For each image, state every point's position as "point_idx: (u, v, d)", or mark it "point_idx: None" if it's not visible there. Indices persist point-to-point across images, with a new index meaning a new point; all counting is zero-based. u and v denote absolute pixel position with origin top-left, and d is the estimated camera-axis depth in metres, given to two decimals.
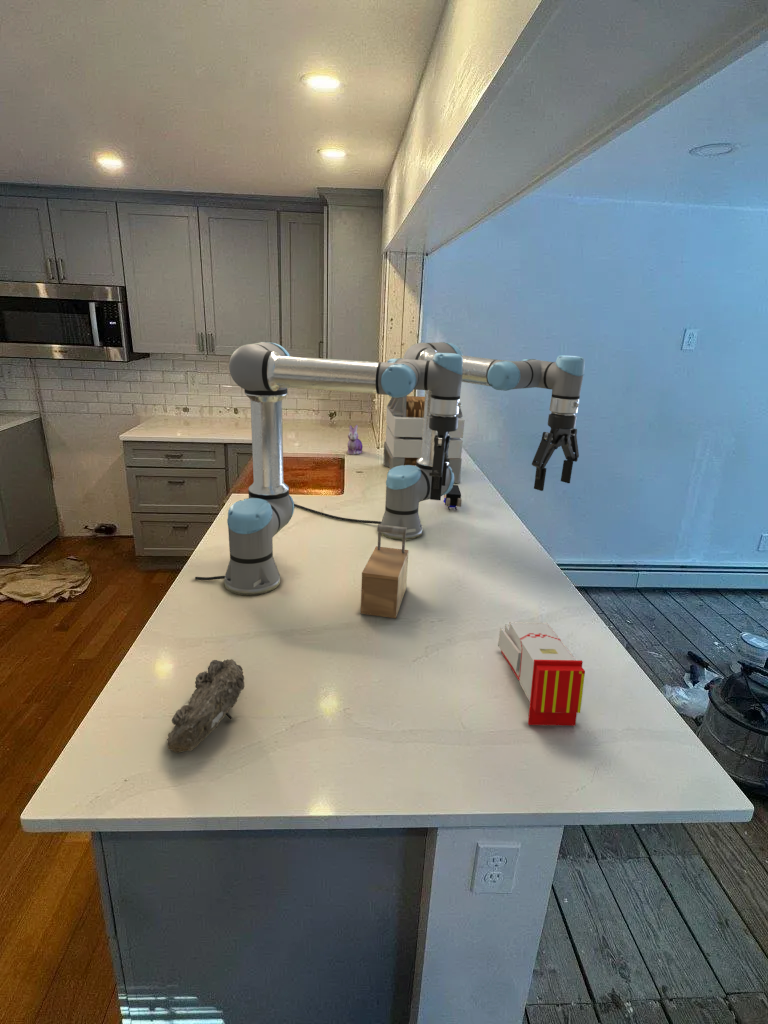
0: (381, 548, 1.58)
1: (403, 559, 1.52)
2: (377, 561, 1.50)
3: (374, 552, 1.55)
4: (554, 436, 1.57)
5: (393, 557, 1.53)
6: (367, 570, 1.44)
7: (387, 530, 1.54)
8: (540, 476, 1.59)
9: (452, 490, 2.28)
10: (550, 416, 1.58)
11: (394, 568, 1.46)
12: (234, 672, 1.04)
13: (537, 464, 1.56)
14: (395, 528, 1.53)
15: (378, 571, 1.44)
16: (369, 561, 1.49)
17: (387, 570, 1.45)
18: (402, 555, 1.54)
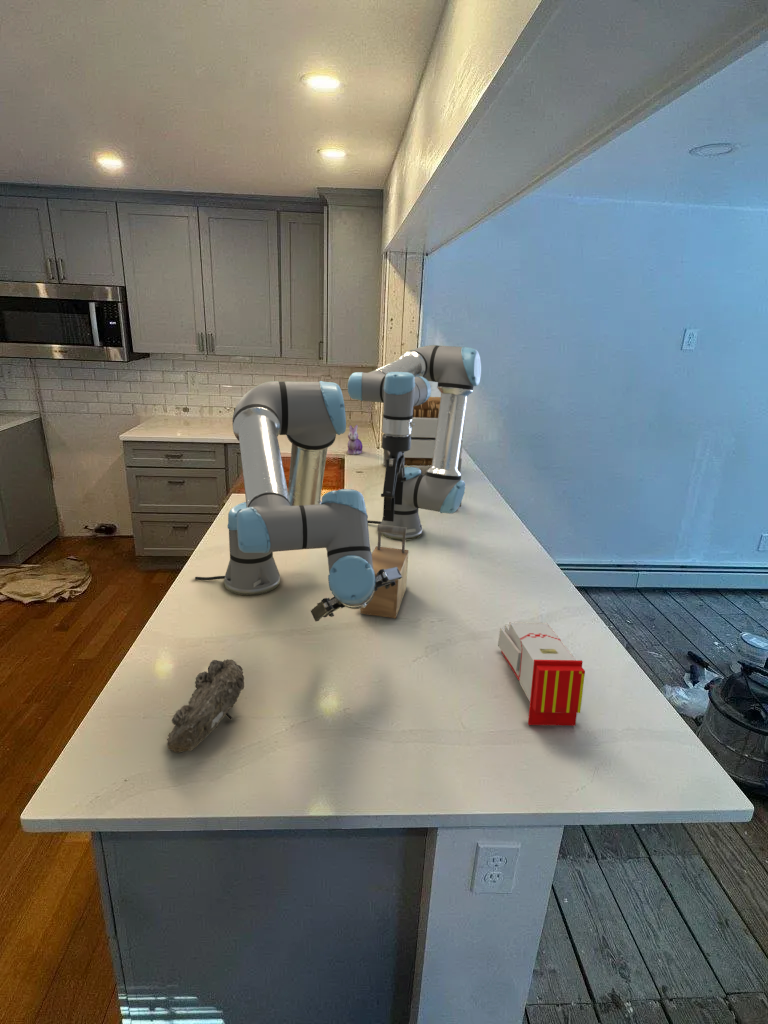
0: (381, 548, 1.58)
1: (403, 559, 1.52)
2: (377, 561, 1.50)
3: (374, 552, 1.55)
4: None
5: (393, 557, 1.53)
6: None
7: (387, 530, 1.54)
8: (391, 506, 1.44)
9: None
10: (387, 439, 1.43)
11: None
12: (234, 672, 1.04)
13: (390, 495, 1.41)
14: (395, 528, 1.53)
15: None
16: None
17: None
18: (402, 555, 1.54)
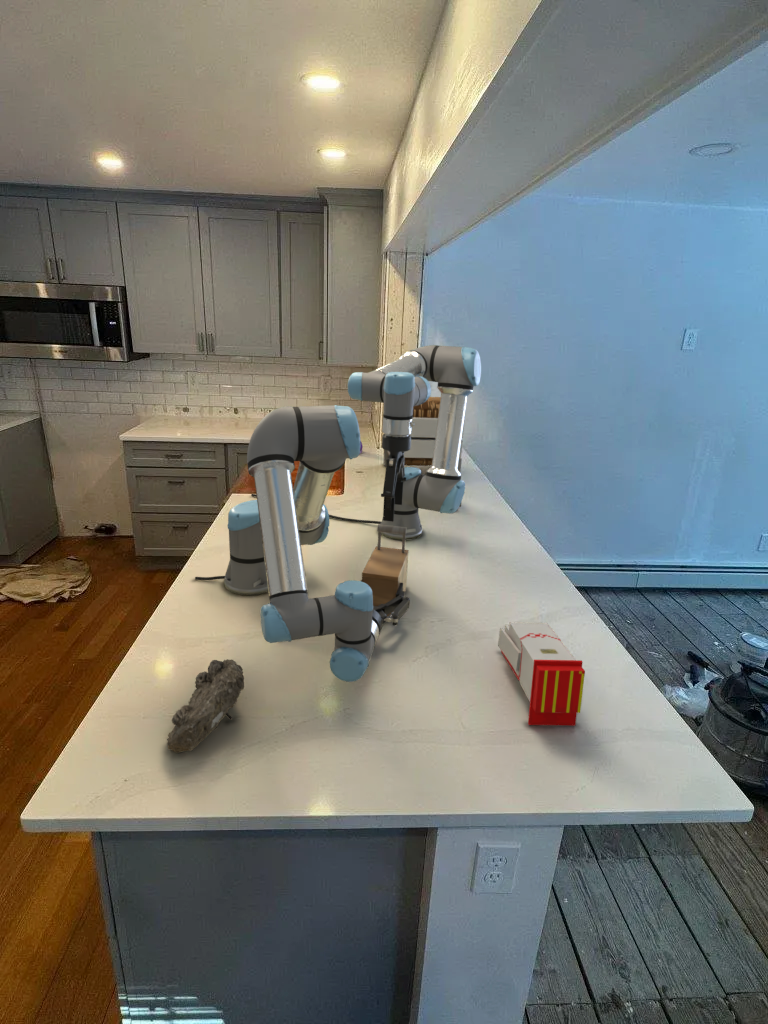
0: (381, 548, 1.58)
1: (403, 559, 1.52)
2: (377, 561, 1.50)
3: (374, 552, 1.55)
4: None
5: (393, 557, 1.53)
6: (367, 570, 1.44)
7: (387, 530, 1.54)
8: (391, 506, 1.44)
9: None
10: (387, 439, 1.43)
11: (394, 568, 1.46)
12: (234, 672, 1.04)
13: (390, 495, 1.41)
14: (395, 528, 1.53)
15: (378, 571, 1.44)
16: (369, 561, 1.49)
17: (387, 570, 1.45)
18: (402, 555, 1.54)
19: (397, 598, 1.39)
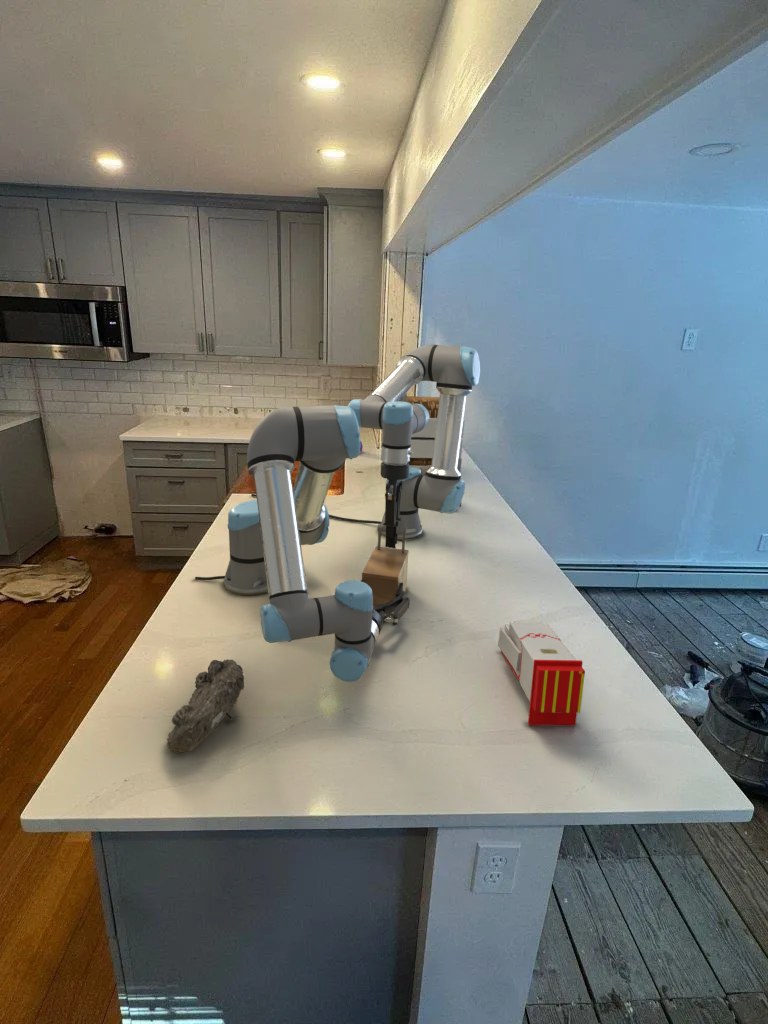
0: (381, 548, 1.57)
1: (403, 559, 1.51)
2: (377, 561, 1.50)
3: (374, 552, 1.55)
4: (394, 488, 1.46)
5: (393, 557, 1.53)
6: (367, 570, 1.44)
7: None
8: (392, 534, 1.52)
9: None
10: (386, 468, 1.46)
11: (394, 568, 1.46)
12: (234, 672, 1.04)
13: (392, 524, 1.49)
14: None
15: (378, 571, 1.44)
16: (369, 561, 1.49)
17: (387, 570, 1.45)
18: (402, 555, 1.54)
19: (397, 598, 1.39)
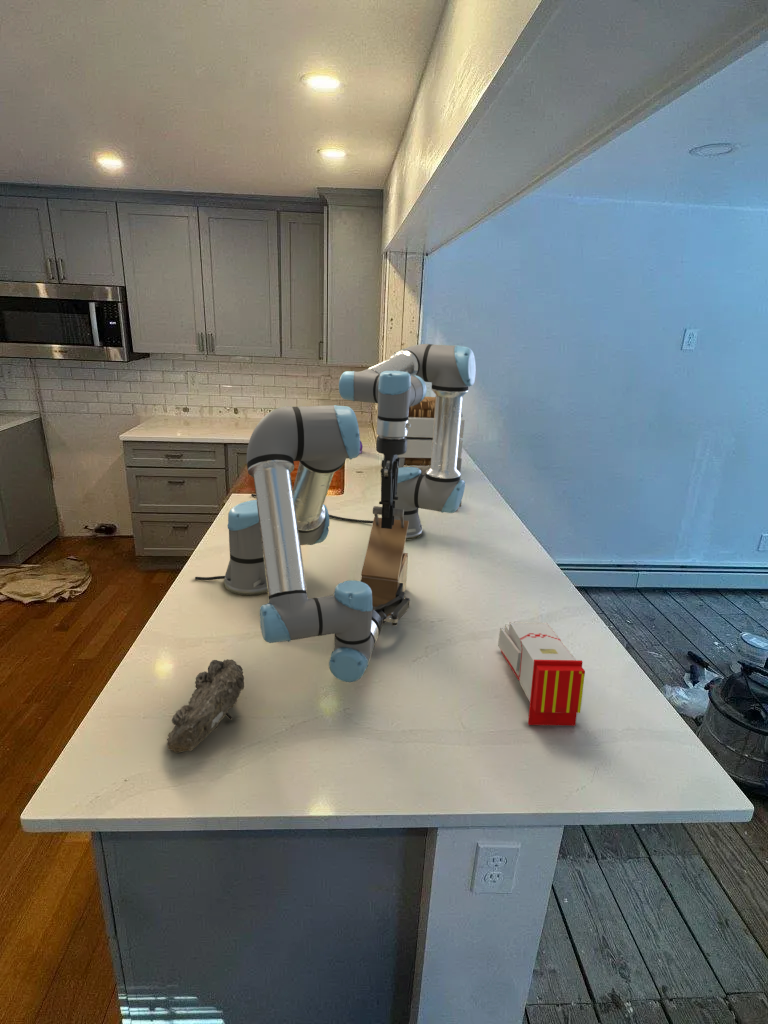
0: (379, 522, 1.51)
1: (403, 541, 1.47)
2: (376, 549, 1.46)
3: (372, 530, 1.50)
4: (391, 464, 1.36)
5: (392, 538, 1.48)
6: (366, 570, 1.43)
7: None
8: (389, 514, 1.43)
9: None
10: (382, 442, 1.36)
11: (393, 561, 1.44)
12: (234, 672, 1.04)
13: (388, 502, 1.39)
14: None
15: (377, 570, 1.43)
16: (368, 550, 1.46)
17: (386, 566, 1.43)
18: (402, 533, 1.48)
19: (397, 598, 1.38)
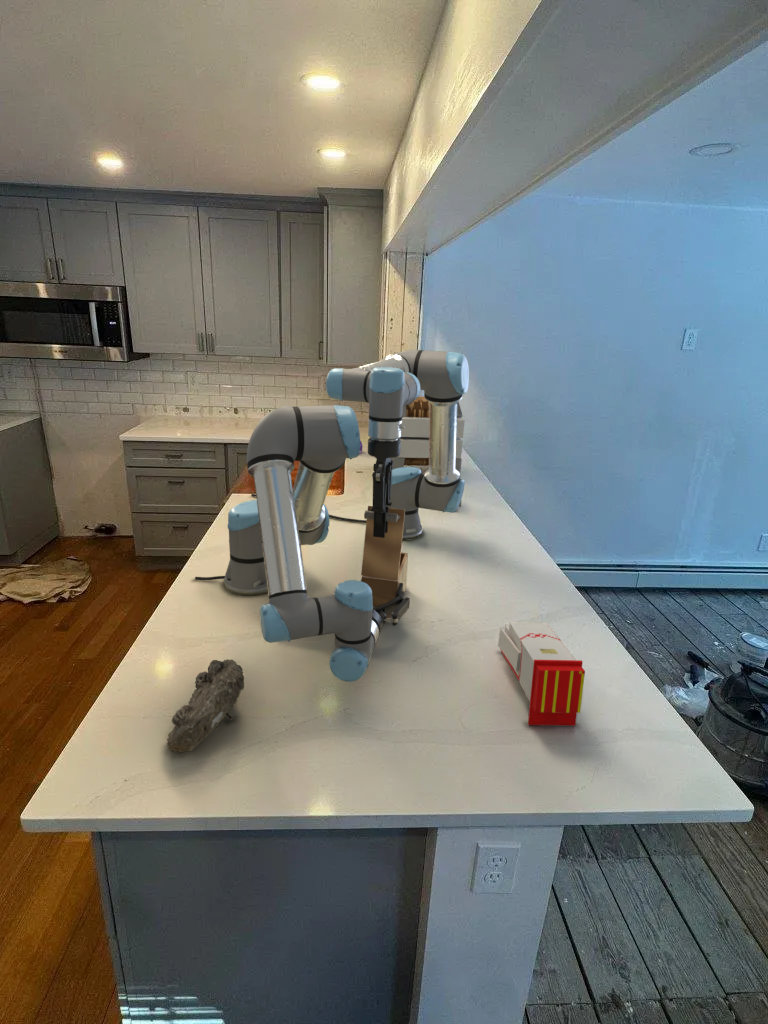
0: None
1: (400, 536, 1.40)
2: (373, 545, 1.42)
3: (368, 523, 1.42)
4: (383, 468, 1.27)
5: (388, 532, 1.41)
6: (366, 570, 1.42)
7: None
8: (381, 521, 1.32)
9: None
10: (373, 444, 1.26)
11: (392, 560, 1.41)
12: (234, 672, 1.04)
13: (380, 509, 1.29)
14: None
15: (376, 570, 1.42)
16: (365, 547, 1.42)
17: (385, 566, 1.41)
18: (398, 526, 1.41)
19: (397, 598, 1.38)
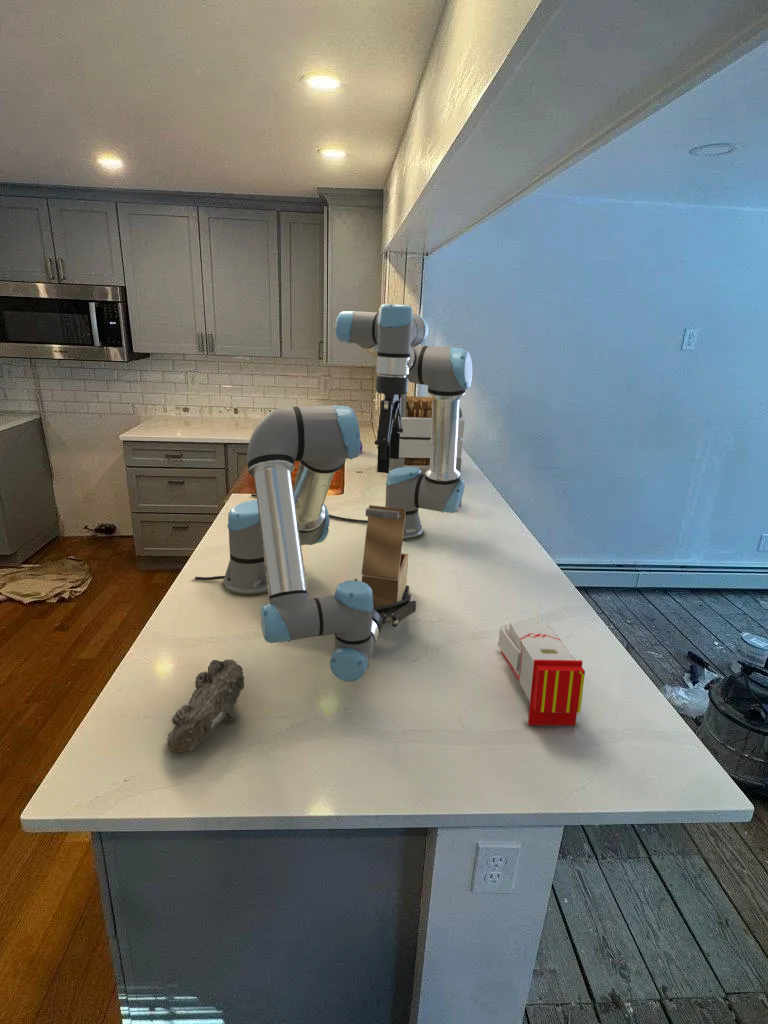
0: None
1: (401, 535, 1.42)
2: (374, 544, 1.43)
3: (369, 522, 1.43)
4: (391, 404, 1.28)
5: (389, 531, 1.42)
6: (366, 569, 1.43)
7: (377, 517, 1.36)
8: (386, 455, 1.29)
9: None
10: (382, 380, 1.28)
11: (392, 559, 1.42)
12: (234, 672, 1.04)
13: (384, 441, 1.25)
14: (385, 517, 1.35)
15: (377, 569, 1.42)
16: (366, 546, 1.43)
17: (386, 565, 1.42)
18: (399, 525, 1.42)
19: (402, 601, 1.37)
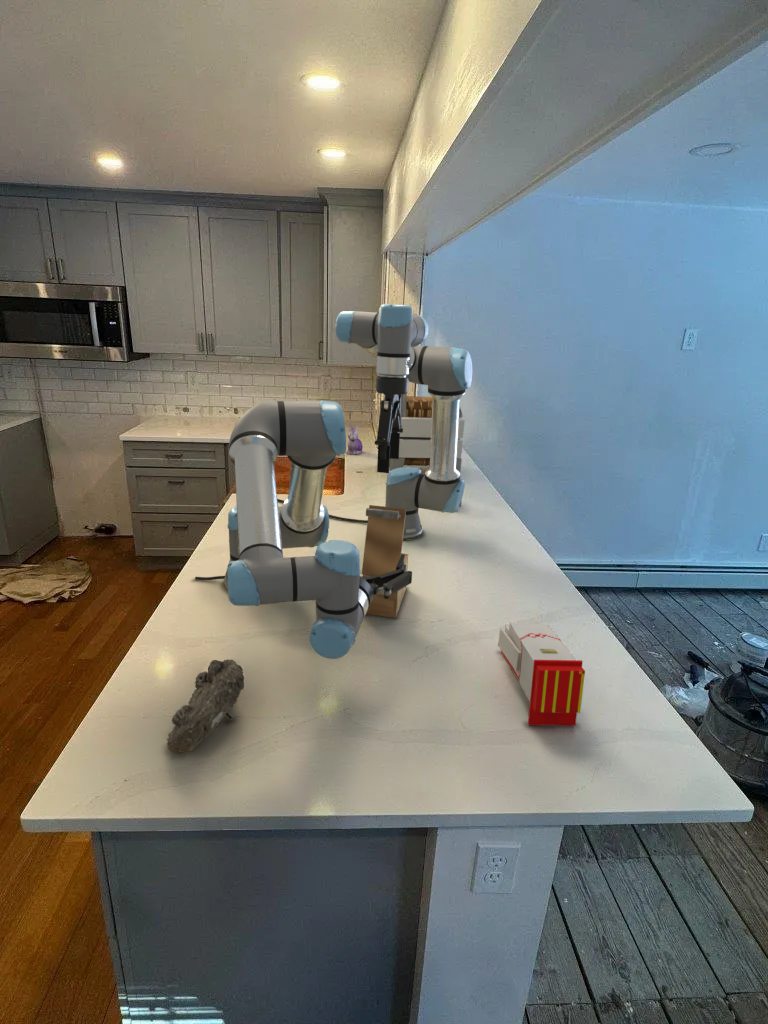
0: None
1: (401, 535, 1.42)
2: (374, 544, 1.43)
3: (369, 522, 1.43)
4: (391, 404, 1.28)
5: (389, 530, 1.42)
6: (366, 569, 1.43)
7: (377, 517, 1.36)
8: (386, 455, 1.29)
9: None
10: (382, 380, 1.28)
11: (393, 559, 1.42)
12: (234, 672, 1.04)
13: (384, 441, 1.25)
14: (385, 517, 1.35)
15: (377, 569, 1.42)
16: (366, 546, 1.43)
17: (386, 565, 1.42)
18: (399, 524, 1.42)
19: (396, 571, 1.21)
